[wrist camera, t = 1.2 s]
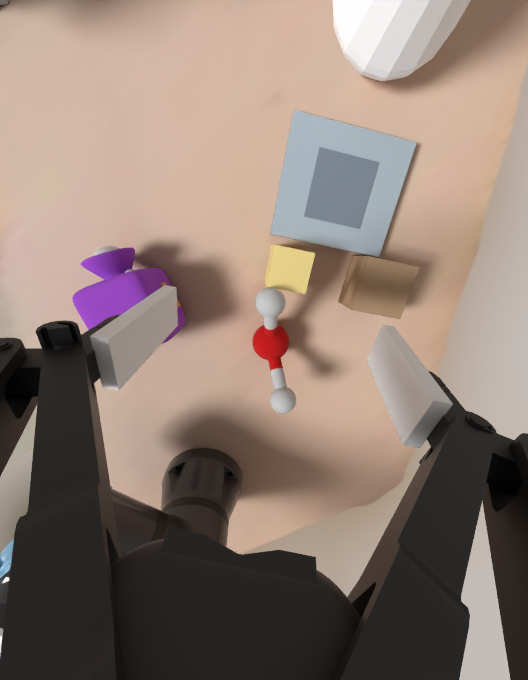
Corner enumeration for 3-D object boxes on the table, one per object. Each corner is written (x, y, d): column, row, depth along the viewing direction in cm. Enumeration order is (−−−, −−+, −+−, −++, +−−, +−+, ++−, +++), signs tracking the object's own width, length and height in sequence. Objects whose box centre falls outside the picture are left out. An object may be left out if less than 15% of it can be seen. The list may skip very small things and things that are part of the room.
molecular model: (291, 381, 43) (301, 416, 34) (260, 385, 43) (261, 421, 34) (280, 278, 37) (289, 287, 28) (244, 283, 38) (240, 293, 28)
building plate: (375, 256, 37) (379, 257, 36) (270, 234, 35) (270, 233, 34) (411, 146, 32) (417, 142, 31) (292, 115, 31) (294, 109, 30)
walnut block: (379, 309, 40) (400, 319, 34) (337, 301, 39) (351, 309, 33) (395, 265, 37) (420, 267, 32) (351, 255, 37) (369, 256, 31)
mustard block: (296, 286, 38) (305, 294, 31) (264, 280, 38) (266, 286, 31) (304, 253, 36) (315, 253, 30) (271, 246, 36) (274, 244, 29)
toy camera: (145, 233, 35) (104, 225, 25) (200, 315, 39) (182, 335, 30) (86, 272, 36) (26, 279, 27) (145, 347, 40) (111, 376, 31)
